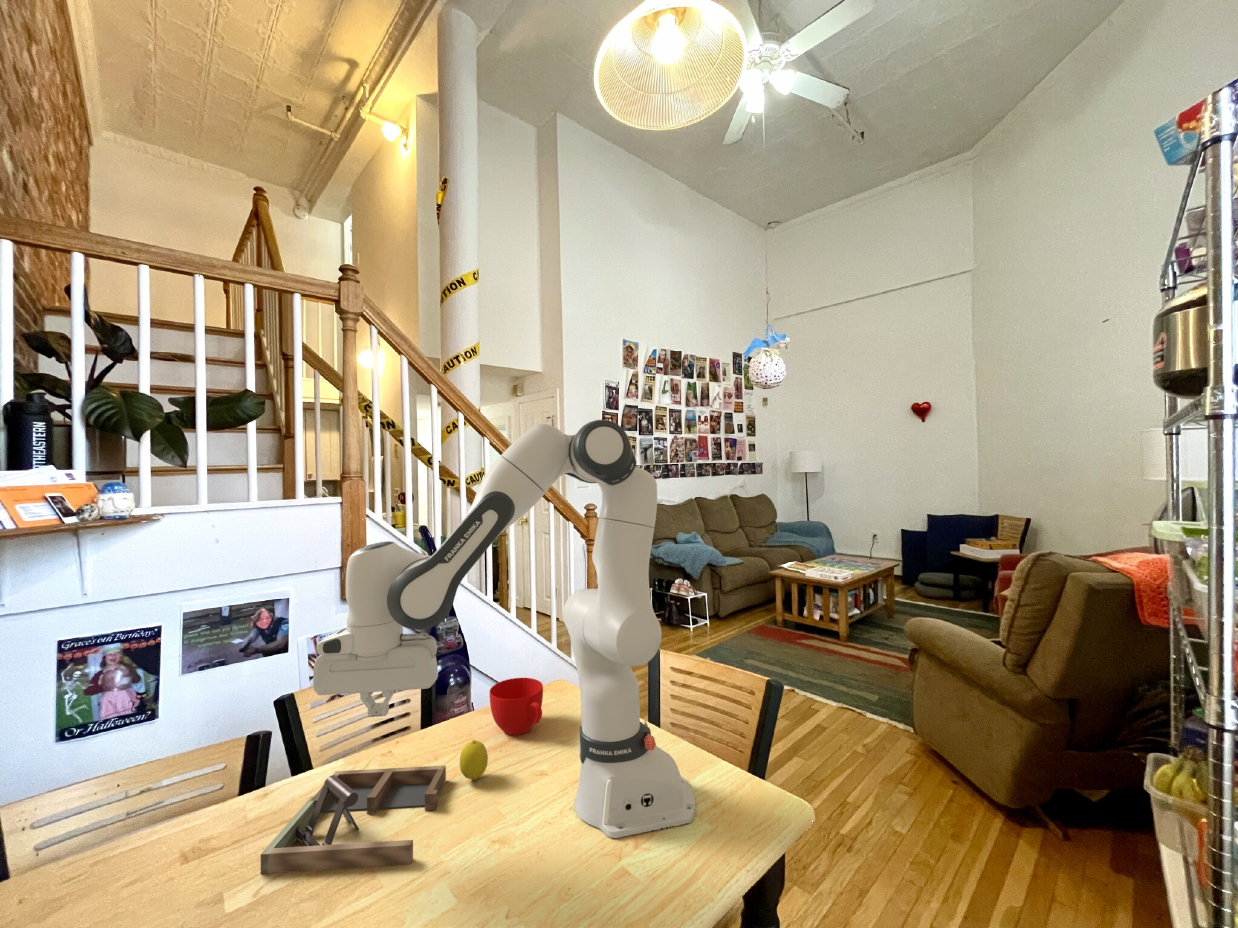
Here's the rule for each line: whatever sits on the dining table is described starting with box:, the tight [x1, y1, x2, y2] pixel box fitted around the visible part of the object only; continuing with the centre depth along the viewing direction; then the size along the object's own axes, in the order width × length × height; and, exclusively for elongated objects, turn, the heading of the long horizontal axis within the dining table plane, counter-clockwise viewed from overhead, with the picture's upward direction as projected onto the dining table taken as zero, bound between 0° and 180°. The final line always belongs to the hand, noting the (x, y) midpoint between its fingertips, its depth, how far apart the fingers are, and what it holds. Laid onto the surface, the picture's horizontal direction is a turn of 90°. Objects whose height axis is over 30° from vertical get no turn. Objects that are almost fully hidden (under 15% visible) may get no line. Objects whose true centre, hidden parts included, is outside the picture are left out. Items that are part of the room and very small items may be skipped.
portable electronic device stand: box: [296, 774, 360, 846], centre depth 88 cm, size 9×8×8 cm
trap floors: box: [320, 783, 430, 814], centre depth 98 cm, size 20×7×1 cm, turn 93°
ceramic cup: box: [489, 677, 544, 736], centre depth 123 cm, size 13×17×10 cm
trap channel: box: [260, 765, 447, 874], centre depth 92 cm, size 23×23×3 cm
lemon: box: [459, 739, 489, 781], centre depth 104 cm, size 6×6×8 cm
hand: (378, 715), depth 88 cm, fingers closed
